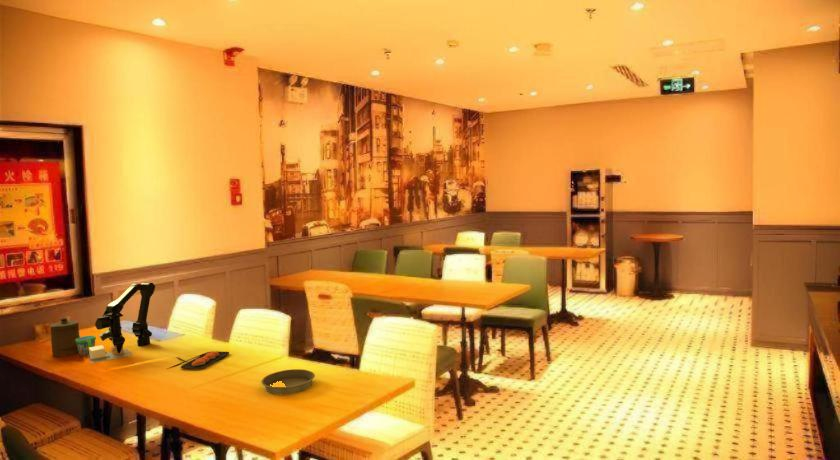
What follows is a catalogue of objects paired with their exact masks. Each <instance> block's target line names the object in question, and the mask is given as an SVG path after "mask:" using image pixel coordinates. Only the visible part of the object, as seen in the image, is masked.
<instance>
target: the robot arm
mask: <svg viewBox="0 0 840 460" xmlns="http://www.w3.org/2000/svg"><path fill="white" fill-rule="evenodd" d="M155 290H156V284H155V283H153V282H147V281H146V282H142V283H132V284H130V286H128V288H127V289H126V290H125V291H124V292H123V293H122V294H121V295H120V296H119V297H118V298H117V299H116V300H114V301H111V302H110V303H109V304H107V306H106V307H105V308H106V309H105V310H104V312H103V315H102V316H101V317H97V318H96V320H95V323H94V326H95V328H96V329H97V330H98V331H100V330H103V329H106V328H107V329H108V330H106V331H104V332H102V333H100V334H99V335H98V336H99V338H100V340H101V341H102V342H104V341H106V340H107V339H109V340H110V342H112V346H115V345H116V348H117V352H118V353H120V352H121V349H122V347H123V348H124V344H125V342H126V337H124V335H123V333H122V328H123V327H122V326H121V324H122V323H121V317H124V314H122V313H121V312H122V310H123V309H124V306H125V304H126V303H127V302H128V301H129V300H130V299H131V298H132V297H133V296H134V295H135V294H136V293H137V292H138V291H139V293H140V295H141V298H140V303H139V310H138V316H137V320H136V321H135V322H133V323H132V327H131V330H132V333H133V335H134V336H135V338H137V339H136V344H137V345H136V346H137V347H146V346H149V345H151V337H152V335H153V332H152V331H151V330H149V325H148V322H147V318H148V313H149V307H150V303H151V302H150V301H151V297H152V295H154V293H155Z"/></svg>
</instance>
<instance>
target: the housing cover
mask: <svg viewBox="0 0 840 460" xmlns="http://www.w3.org/2000/svg"><path fill="white" fill-rule="evenodd" d="M105 352H106V348H105V347H104V345H103V344H100V345H95V346H94V347H89V354H88V355H89V356H90V358H91V359H95V358H100V357H105V356H106V355H105Z"/></svg>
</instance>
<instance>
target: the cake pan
mask: <svg viewBox="0 0 840 460" xmlns="http://www.w3.org/2000/svg"><path fill="white" fill-rule="evenodd" d="M315 377H316V375H315V372H313V371H310V370H307V369H301V368H299V369H285V370H280V371H276V372H272V373H270V374H268V375H266V376H264V377H263V378H262V379H261V381H260V382H261V384H262V386H264V388H265V391H266V393H268V392H269V394H272V395H276V394H279V396H283V395H285V394H287V395H292V394H293V395H294V394H298V393H301V392H303V391H306V390H308V389H310V388H311V387H312V385H313V380H314V379H315ZM277 381H278V382H279V381H282V383H284V384H285V386H286V387H272V386H270V384H271V385H273V383H276V382H277ZM280 394H282V395H280ZM285 396H286V395H285Z"/></svg>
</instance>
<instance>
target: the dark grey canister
mask: <svg viewBox="0 0 840 460" xmlns="http://www.w3.org/2000/svg"><path fill="white" fill-rule="evenodd" d="M79 324H80V323H79V321H78V320H75V319H74V320H68V317H66V316H62V317H60V321H58V322H54V323H52V324H50V325H49V329H50V343H51V353H52V354H51V355H52V356H53V357H67V356H71V355H76V354H79V350H78V347H77V343H76V342H75V339H77V338H80V337H81V336H80V335H81V334H80V328H79V326H80V325H79ZM75 353H76V354H75Z"/></svg>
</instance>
